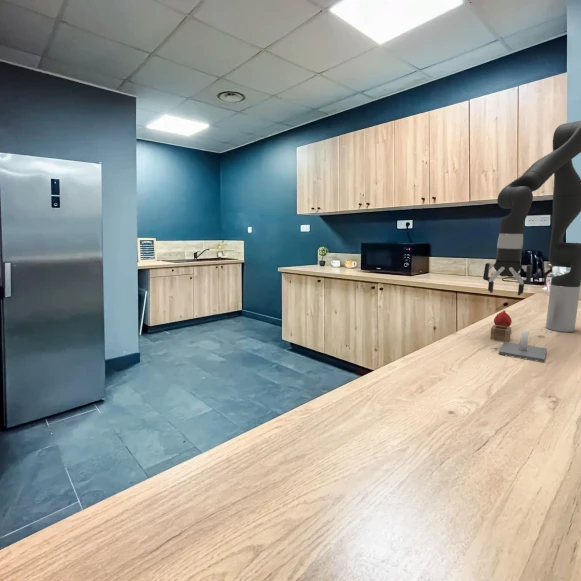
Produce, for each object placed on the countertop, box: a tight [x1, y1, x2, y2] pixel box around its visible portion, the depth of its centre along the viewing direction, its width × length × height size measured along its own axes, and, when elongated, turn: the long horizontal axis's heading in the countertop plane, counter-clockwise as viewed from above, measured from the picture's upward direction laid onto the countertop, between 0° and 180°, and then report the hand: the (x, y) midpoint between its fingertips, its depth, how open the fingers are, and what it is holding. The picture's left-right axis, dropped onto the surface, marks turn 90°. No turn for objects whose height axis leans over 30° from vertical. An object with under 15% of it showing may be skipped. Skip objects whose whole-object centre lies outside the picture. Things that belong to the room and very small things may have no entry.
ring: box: [489, 324, 512, 342], centre depth 135 cm, size 6×6×4 cm
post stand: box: [498, 330, 547, 363], centre depth 120 cm, size 12×12×7 cm
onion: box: [493, 310, 512, 327], centre depth 145 cm, size 6×6×8 cm
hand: (504, 293), depth 132 cm, fingers open, 8 cm apart
